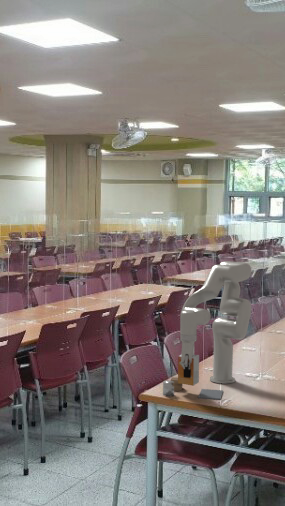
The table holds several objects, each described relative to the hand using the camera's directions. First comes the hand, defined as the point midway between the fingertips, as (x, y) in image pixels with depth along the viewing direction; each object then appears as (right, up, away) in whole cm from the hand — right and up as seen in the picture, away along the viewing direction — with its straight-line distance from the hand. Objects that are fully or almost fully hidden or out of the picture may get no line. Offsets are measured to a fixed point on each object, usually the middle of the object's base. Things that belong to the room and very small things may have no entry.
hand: (188, 374), depth 300 cm
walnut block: (-5, -8, +8) cm, 13 cm away
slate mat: (+10, -9, -1) cm, 14 cm away
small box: (0, -4, 0) cm, 4 cm away
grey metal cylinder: (-9, -9, -2) cm, 13 cm away
